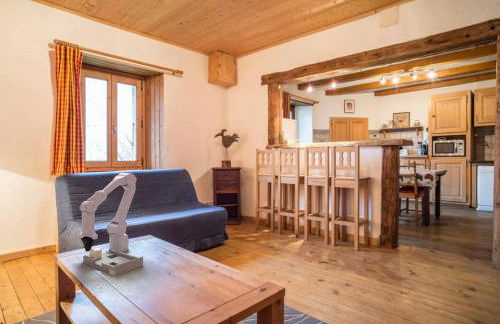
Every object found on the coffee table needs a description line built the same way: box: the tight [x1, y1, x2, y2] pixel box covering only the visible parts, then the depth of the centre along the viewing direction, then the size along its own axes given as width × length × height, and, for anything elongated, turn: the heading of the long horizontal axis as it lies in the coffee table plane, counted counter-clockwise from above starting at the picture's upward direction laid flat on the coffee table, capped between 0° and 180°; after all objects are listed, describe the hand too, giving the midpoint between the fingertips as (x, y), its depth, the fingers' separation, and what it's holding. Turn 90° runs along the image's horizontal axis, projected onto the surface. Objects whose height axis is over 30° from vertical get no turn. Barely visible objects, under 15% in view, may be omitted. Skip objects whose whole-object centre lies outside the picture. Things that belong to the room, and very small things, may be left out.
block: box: [88, 247, 103, 259], centre depth 144 cm, size 4×4×4 cm
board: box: [82, 248, 144, 277], centre depth 140 cm, size 14×28×4 cm, turn 57°
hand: (88, 250), depth 148 cm, fingers closed
